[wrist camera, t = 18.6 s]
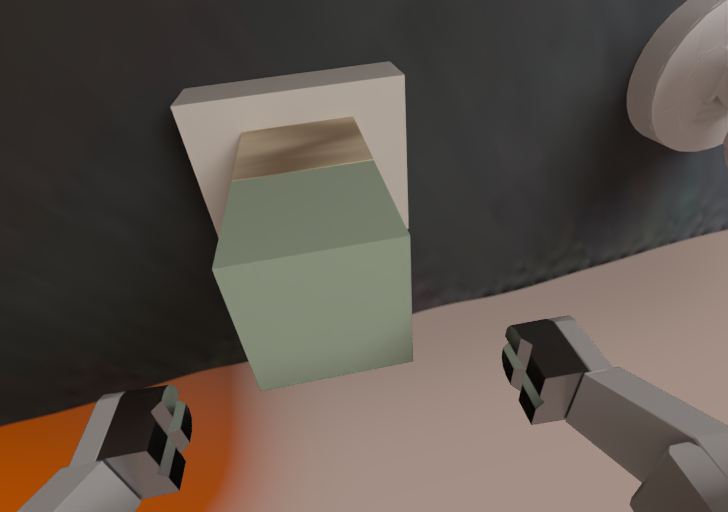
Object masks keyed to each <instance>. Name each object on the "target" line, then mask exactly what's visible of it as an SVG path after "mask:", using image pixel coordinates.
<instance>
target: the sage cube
mask: <svg viewBox="0 0 728 512" xmlns="http://www.w3.org/2000/svg"><path fill="white" fill-rule="evenodd" d="M212 271H213V273H214V276H215V278H216V281H217V283H218V286H219V288H220V291H221V293H222V296H223V298H224V301H225V303H226V306H227V308H228V311H229V313H230V316H231V318H232V321H233V323H234V326H235V328H236V331H237V333H238V336H239V338H240V341H241V343H242V346H243V348H244V351H245V353H246V356H247V358H248V361H249V363H250V366H251V368H252V371H253V373H254V376H255V378H256V381H257V383H258V385H259V388H260V391H264V390H269V389H274V388H279V387H285V386H290V385H294V384H299V383H305V382H309V381H315V380H320V379H325V378H331V377H336V376H340V375H346V374H351V373H356V372H361V371H366V370H371V369H376V368H382V367H386V366H392V365H397V364H402V363H407V362H412V361H413V343H412V298H411V255H410V235H409V233H408V230H407V228H406V226H405V224H404V222H403V220H402V218H401V216H400V214H399V212H398V210H397V207H396V205H395V203H394V201H393V199H392V197H391V195H390V193H389V191H388V189H387V187H386V184H385V182H384V180H383V178H382V176H381V174H380V172H379V170H378V168H377V166H376V164H375V161H374V160H370V161H363V162H356V163H350V164H343V165H337V166H330V167H324V168H317V169H310V170H304V171H297V172H291V173H284V174H278V175H271V176H264V177H258V178H251V179H245V180H238V181H232V182H231V186H230V190H229V195H228V199H227V204H226V208H225V213H224V217H223V222H222V226H221V231H220V235H219V240H218V244H217V249H216V253H215V258H214V262H213V267H212Z"/></svg>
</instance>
